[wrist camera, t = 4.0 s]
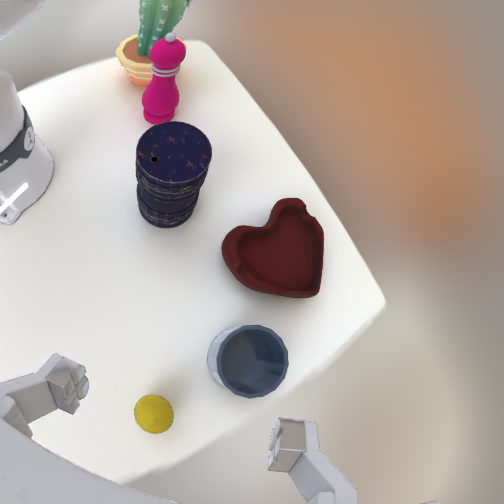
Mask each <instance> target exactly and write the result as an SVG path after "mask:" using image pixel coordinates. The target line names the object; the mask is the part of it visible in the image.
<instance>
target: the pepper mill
mask: <svg viewBox="0 0 504 504" xmlns="http://www.w3.org/2000/svg"><path fill="white" fill-rule="evenodd" d="M185 55H186V48H185V45H184V44H183V43H182V42H181V41H180V40H178V39H176V35H175V34H174V33H168V34H167V35H166V36H165V38H162V39H160V40H158V41H156V42H155V43H154V44H153V46H152V47H151V49H150V59H151V61H152V62H151V71H152V73H153V77H152V80H151V82H150V83H149V85H148V86H147V87H146V89H145V91H144V93H143V97H142V105H143V107H144V118H145V119H146V120H147V121H148V122H150V123H152V124H160V123H163V122H169V121H170V120H171V119H172V118H173V116H174V111H175V108H176V107H177V105H178V103H179V92H178V89H177V86H176V84H175V81H174V79H175V74H176V73H178V71H179V67H180V63H181V62H182V61H183V60H184V58H185Z"/></svg>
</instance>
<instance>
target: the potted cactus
mask: <svg viewBox="0 0 504 504" xmlns="http://www.w3.org/2000/svg"><path fill="white" fill-rule="evenodd" d="M191 1H192V0H140V8H139V14H140V22H141V25H140V29H139V34H135V35H132V36H131V37H129V38H127V39H125V40H124V41H122V42H121V43H120V45H119V46H118V48H117V50H116V55H117V57H118V60H119V62H120V64H121V65H122V66H124V68H125V70H126V71H127V73H128V74H129V77H130V79H131V81H132V82H133V83H135V84H137V85H139V86H148V85H149V83H150V82H151V80H152V77H153V73H152V71H151V62H152V61H151V59H150V49H151V47H152V46H153V44H154V43H155V42H156V41H158V40H160V39H162V38H165V36H166V35H167V34H168V33H171V32H172V30H173V28H174V27H175V26H176V24H177V23H178V22H179V21H180V20H181V19H182V16H183V13H184V10H185V7H186V5H187V7H189V5H190V2H191ZM176 39H178V40H180V41H181V42H182V43H183V44H184V42H183V41H182V40H181V39H180V38H178V37H176ZM184 45H185V44H184ZM185 48H186V49H187V46H186V45H185Z"/></svg>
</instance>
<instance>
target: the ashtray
mask: <svg viewBox="0 0 504 504" xmlns="http://www.w3.org/2000/svg"><path fill="white" fill-rule="evenodd" d="M323 253H324V232H323V229H322V227H321V225H320V224H319V222H318V221H317V220H316V218H315V217H312V216H311V215H310V214H309V213H308V212H307V210H306V205H305V204H304V202H303V201H302V200H300V199H298V198H284V199H281V200H279V201H278V202H277V203H276V204H275V205H274V207H273V209H272V210H271V213H270V217H269V220H268V222H267V224H266V225H265V226H263V227H252V226H245V225H242V226H237V227H236V228H234V229H233V230H231V231H230V232H229V233H228V234H227V235H226V237H225V239H224V240H223V243H222V255H223V258H224V261H225V262H226V264H227V266H228V267H229V269H230V270H231V272H232V273H233V274H234V276H235V277H236V278H237V280H239V281H240V282H241V283H242V284H243V285H245V286H246V287H248V288H250V289H252V290H255V291H259V292H263V293H269V294H276V295H281V296H286V297H292V298H309V297H312V296H315V295H316V294H317V293H318V292H319V289H320V284H321V277H322V268H323Z"/></svg>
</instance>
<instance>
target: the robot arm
mask: <svg viewBox="0 0 504 504" xmlns="http://www.w3.org/2000/svg"><path fill="white" fill-rule="evenodd" d="M44 1H45V0H0V41H1V40H2V39H4V38H5V37H7V36H8V35H9V34H11V33H12V32H13V31H14V30H16V29H17V28H18V27H19V26H20V25H21V24H22V23H24V22H25V21H26V20H27V19H29V18H30V17H31V16H32V15H33V14H34V13H36V12H37V11H38V10H39V9H40V8H41V7H42V5H43V3H44ZM53 168H54V163H53V158H52V155H51V153H50V152H49V151H48V150H47V149H46V148H45V147H44V146H43V144H42V143H41V142H40V140H39V138H38V136H37V135H36V134H35V133H34V130H33V127H32V123H31V121H30V118H29V116H28V113H27V111H26V109H25V107H24V106H23V105H21V102H20V99H19V96H18V94H17V91H16V88H15V85H14V81H13V79H12V77H11V76H10V75H9V74H8V73H7V72H5V71H3V70H0V222H2V223H6V224H12V223H14V222H15V221H16V220H17V218H18V217H19V216H20V214H21V213H22V211H24V210H25V209H26V208H27V207H29V206H30V205H32V204H33V203H34V202H35V201H37V200H38V199H39V198H40V196H41V195H42V194H43V193H44V191H45V190H46V188H47V187H48V185H49V183H50V180H51V178H52V174H53ZM6 214H7V216H6V217H5V215H6ZM85 373H86V369H85V366H83V365H80V364H78V363H76V362H74V361H72V360H70V359H68V358H66V357H64V356H61V355H59V354H57V353H56V354H53V355H52V356H51V357H50V359H49V360H48V361H47V362H46V363H45V364H44V365H43V366H42V367H41V368H40V370H39V371H38V372H37V373H36V374H35V373H31V374H28V375H25V376H21V377H18V378H15V379H12V380H8V381H5V382H1V383H0V504H181V503H178V502H174V501H170V500H166V499H163V498H160V497H156V496H153V495H150V494H146V493H144V492H140V491H137V490H134V489H132V488H129V487H126V486H124V485H121V484H118V483H116V482H113V481H111V480H109V479H106V478H104V477H101V476H99V475H97V474H95V473H92V472H90V471H88V470H86V469H84V468H82V467H80V466H78V465H76V464H74V463H72V462H70V461H68V460H66V459H64V458H62V457H61V456H59V455H57V454H55V453H53V452H52V451H50V450H48V449H46V448H45V447H43V446H41V445H40V444H38V443H37V442H35V441H33V440H32V439H30V438H31V437H32V435H33V433H32V431H31V429H30V427H29V426H28V423H30V422H32V421H34V420H36V419H38V418H40V417H42V416H44V415H46V414H48V413H50V412H52V411H54V410H56V409H57V408H59V409H61V410H63V411H66V412H68V413H70V414H72V415H73V414H74V413H75V411H76V410H77V408H78V407H79V405H80V404H79V400H81V399H83V398H85V396H86V394H87V392H88V389H89V381H88V379H87V377H86V376H85ZM269 450H270V451H271V453H270V455H269V457H268V458H269V459H268V470H269V471H277V472H287V473H289V475H290V477H291V478H292V480H293V481H294V483H295V485H296V486H297V488H298V489H299V491H300V492H301V494H302V495H303V497H304V498H305V500H306V501H307V504H359V502H358V495H357V489H356V488H355V487H354V486H353V485H352V484H351V483H350V482H349V481H348V480H347V479H346V478H345V476H344V475H343V474H342V473H341V472H340V471H339V470H338V469H337V468H336V466H335V465H334V464H333V463H332V462H331V461H330V460H329V459H328V458H327V456H326V455H325V454H324V453H320V447H319V437H318V429H317V423H316V422H315V421H308V420H299V419H288V418H278V419H277V421H276V427H275V428H273V430H272V433H271V436H270V441H269ZM421 504H442V503H440V502H438V501H429V502H425V503H421Z"/></svg>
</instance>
